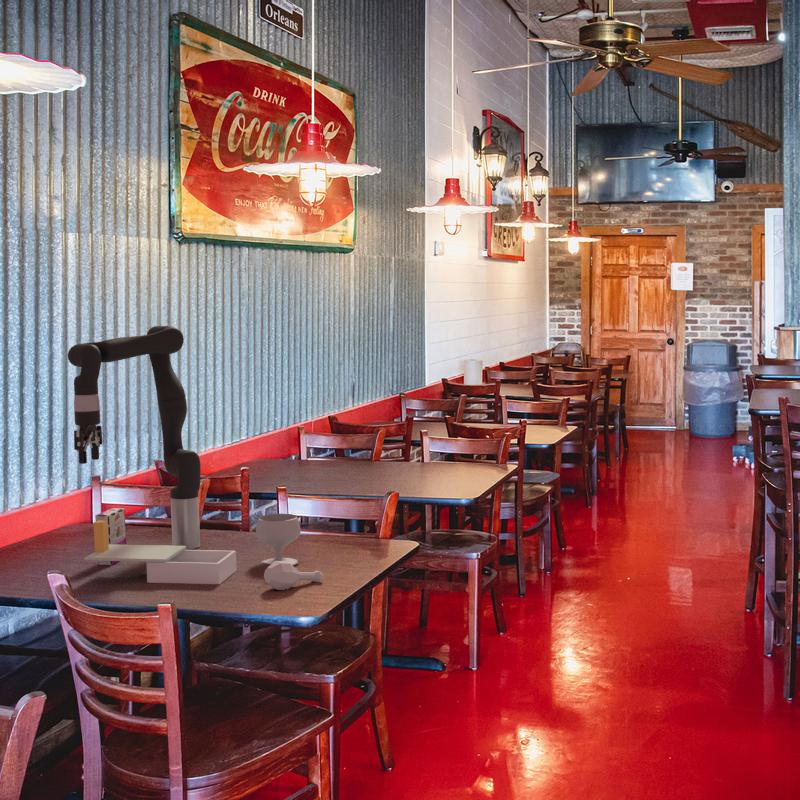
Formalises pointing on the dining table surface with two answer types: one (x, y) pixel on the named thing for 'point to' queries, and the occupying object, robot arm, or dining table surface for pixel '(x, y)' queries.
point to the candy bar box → (114, 528)
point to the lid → (128, 549)
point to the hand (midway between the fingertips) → (89, 461)
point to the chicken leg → (287, 575)
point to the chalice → (278, 534)
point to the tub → (194, 567)
